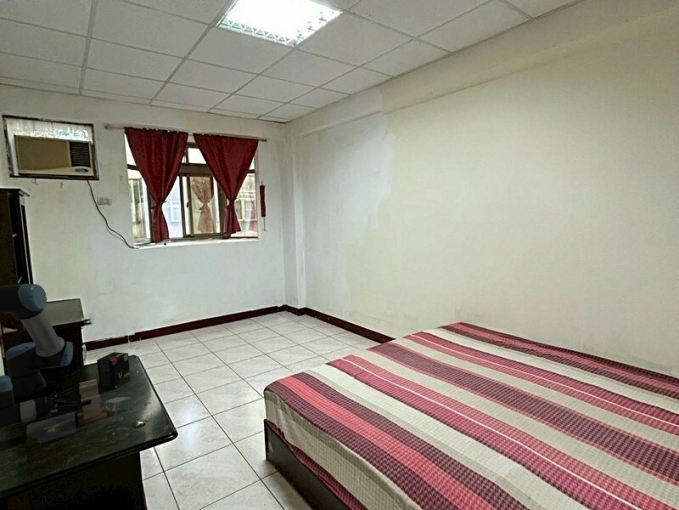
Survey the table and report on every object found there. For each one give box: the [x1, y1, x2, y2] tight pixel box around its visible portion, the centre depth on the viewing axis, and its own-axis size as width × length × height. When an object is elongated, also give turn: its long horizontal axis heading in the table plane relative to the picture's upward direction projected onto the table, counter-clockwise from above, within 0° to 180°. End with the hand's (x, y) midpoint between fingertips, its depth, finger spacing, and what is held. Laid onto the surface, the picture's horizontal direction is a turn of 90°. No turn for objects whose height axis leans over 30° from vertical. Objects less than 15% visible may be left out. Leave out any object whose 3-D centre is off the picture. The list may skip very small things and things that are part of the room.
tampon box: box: [96, 351, 131, 390], centre depth 191 cm, size 11×9×15 cm
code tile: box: [25, 411, 77, 445], centre depth 153 cm, size 20×16×1 cm
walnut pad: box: [77, 405, 108, 427], centre depth 161 cm, size 10×10×1 cm
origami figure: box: [104, 396, 136, 416], centre depth 166 cm, size 12×8×5 cm
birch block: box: [79, 378, 101, 420], centre depth 160 cm, size 6×6×14 cm
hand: (98, 392), depth 162 cm, fingers open, 13 cm apart
